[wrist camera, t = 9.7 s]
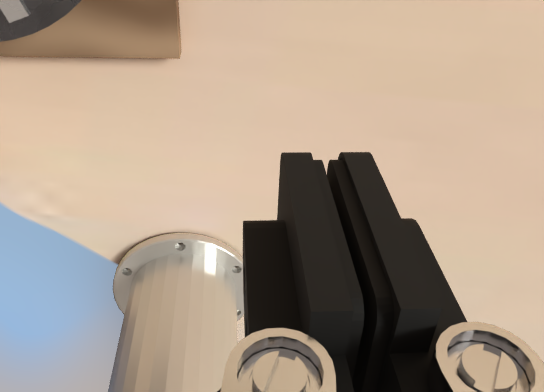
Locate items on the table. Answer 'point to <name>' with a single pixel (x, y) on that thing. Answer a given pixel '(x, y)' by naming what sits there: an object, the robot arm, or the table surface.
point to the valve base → (106, 32)
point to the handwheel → (30, 16)
